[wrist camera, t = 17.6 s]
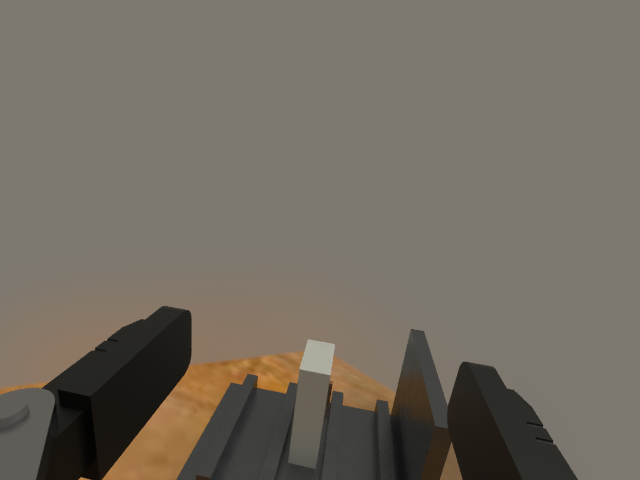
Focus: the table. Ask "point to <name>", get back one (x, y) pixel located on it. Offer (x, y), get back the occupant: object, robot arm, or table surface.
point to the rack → (330, 432)
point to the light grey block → (310, 403)
